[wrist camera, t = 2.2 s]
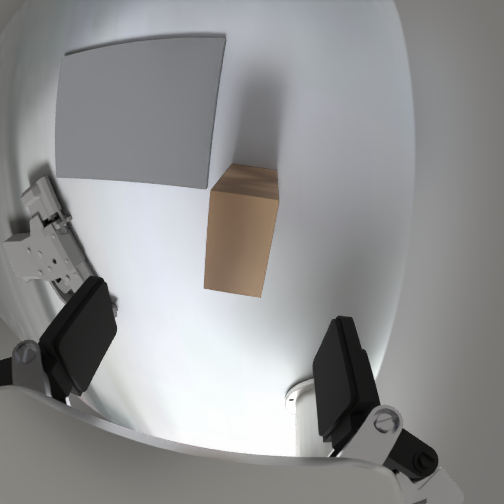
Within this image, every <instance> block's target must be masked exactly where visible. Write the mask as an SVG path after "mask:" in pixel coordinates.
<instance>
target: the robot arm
mask: <svg viewBox="0 0 504 504" xmlns="http://www.w3.org/2000/svg"><path fill="white" fill-rule="evenodd" d="M116 332H117V325H116V321H115V317H114V313H113V309H112V305H111V300H110V296H109V291H108V286H107V283H106V282H104V279H103V278H101V277H96V276H92V275H91V276H89V277H88V278H87V279H86V280H85V282H84V283H83V284H82V285H81V286H80V288H79V289H78V290H77V291H76V292H75V294H74V295H73V296H72V297H71V298H70V300H69V301H68V302H67V303H66V305H65V306H64V307H63V308H62V310H61V311H60V312H59V313H58V315H57V316H56V317H55V319H54V320H53V321H52V323H51V324H50V325H49V327H48V328H47V329H46V331H45V332H44V333H43V335H42V336H41V337H40V339H39V340H40V341H39V343H38V344H37V342H35V341H33V340H24V341H21V342H20V343H18V344H17V345H16V346H15V347H14V349H13V351H12V357H10V358H6V359H3V360H0V504H463V501H464V495H463V493H462V491H461V490H460V488H459V487H458V486H457V485H456V484H455V482H454V481H453V480H452V479H451V477H450V476H449V475H448V473H447V472H446V471H445V470H444V469H443V467H441V468H439V467H438V456H437V454H436V452H435V450H434V449H433V448H431V447H429V446H428V445H427V444H425V443H424V442H422V441H421V440H419V439H418V438H416V437H415V436H413V435H412V434H411V433H409V432H408V431H406V430H405V429H403V419H402V416H401V414H400V413H399V411H398V410H396V409H395V408H394V407H391V406H389V405H380V401H379V396H378V392H377V389H376V384H375V381H374V377H373V373H372V370H371V366H370V362H369V359H368V356H367V353H366V351H365V350H364V349H362V348H361V345H360V341H359V338H358V334H357V331H356V328H355V325H354V321H353V319H352V317H345V316H338V317H337V318H336V319H332V321H331V323H330V325H329V328H328V330H327V332H326V335H325V337H324V339H323V341H322V344H321V346H320V348H319V350H318V352H317V354H316V356H315V359H314V361H313V376H314V378H312V379H308V380H306V381H303V382H301V383H299V384H297V385H296V386H294V387H293V388H292V389H291V390H290V391H289V392H288V393H287V395H286V398H285V404H286V408H287V409H288V410H289V411H290V412H291V413H293V414H295V420H296V457H287V456H268V455H255V454H244V453H236V452H228V451H221V450H214V449H208V448H203V447H197V446H192V445H187V444H183V443H178V442H174V441H170V440H165V439H162V438H158V437H154V436H150V435H147V434H143V433H140V432H137V431H134V430H130V429H127V428H124V427H121V426H118V425H116V424H113V423H110V422H107V421H105V420H102V419H99V418H97V417H94V416H92V415H89V414H87V413H85V412H82V411H80V410H78V409H75V408H73V407H71V406H70V402H69V398H68V396H69V394H70V392H71V393H73V394H75V395H77V396H81V394H82V392H85V391H86V390H87V388H88V386H89V384H90V382H91V380H92V378H93V376H94V374H95V372H96V370H97V369H98V367H99V365H100V363H101V361H102V359H103V357H104V355H105V353H106V351H107V350H108V348H109V346H110V344H111V342H112V340H113V339H114V337H115V335H116Z"/></svg>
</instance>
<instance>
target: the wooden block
mask: <svg viewBox="0 0 504 504" xmlns="http://www.w3.org/2000/svg"><path fill="white" fill-rule="evenodd" d="M278 205H279V190H278V177H277V170H272V169H265V168H259V167H252V166H245V165H238V164H231V166H230V167H229V168H228V169H227V170H226V172H225V173H224V174H223V175H222V177H221V178H220V179H219V180H218V182H217V183H216V184H215V185H214V187H213V188H212V189H211V191H210V202H209V214H208V227H207V241H206V257H205V275H204V289H210V290H215V291H222V292H228V293H234V294H240V295H247V296H253V297H260V298H261V294H262V289H263V284H264V279H265V274H266V269H267V264H268V259H269V253H270V248H271V243H272V238H273V232H274V227H275V222H276V216H277V211H278Z"/></svg>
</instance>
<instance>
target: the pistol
mask: <svg viewBox="0 0 504 504" xmlns="http://www.w3.org/2000/svg"><path fill="white" fill-rule="evenodd" d="M21 201H22V203H23V206H26V207H28V208H29V210H30V212H31V214H32V217H33V219H31V220H30V233H16V234H14V235H13V236H11V237H10V238H9V239H7V240H6V241H4V243H3V246H4V248H5V251H6V254H7V256H8V259H9V261H10V264H11V266H12V269H13V271H14V273H15V276H16V278H17V279H19V280H21V281H25V282H29V281H31V280H32V279H43V280H46V281H49V282H50V284H51V286H52V287H53V289H54V290H55V292H56V293H57V295H58V296H59V298H60V299H61V300H62V301H63V302H64V303H65V304H66V303H67V302H68V301H69V300H70V298H71V297H72V295H71V293H70V292H69V290H70V289H72V290H73V292H74V293H75V292H76V291H77V290H78V289H79V288H80V286H81V285H82V284H83V283H84V282H85V280H86V279H87V278H88V277H89V276H91V275H92V276H94V274H93V272H92V270H91V269H90V267H89V265H88V264H87V262H86V260H85V256H84V255H83V253H82V251H81V249H80V247H79V245H78V243H77V242H76V240H75V238H74V236H73V234H72V232H71V230H70V228H69V226H68V224H67V222H69V221H70V220H72V217H71V216H69V217H67V215H64V216H63V215H62V213H61V211H60V209H62V208H61V206H60V204H59V202H58V200H57V197H56V195H55V193H54V190H53V188H52V185H51V183H50V181H49V178H48V176H47V175H45V176H43V177H42V178H40V179H39V180H38V181H37V182H35V183H34V184H33V185H31V186H30V187H29V188H28V189H27V190H26V191H25V192H24V193H23V194H22V196H21ZM56 212H58V214H59V216H60V218H59V219H57V220H55V219H54V217H56V216H57V214H56ZM53 221H54V222H53ZM50 223H51V224H50ZM111 305H112V309H113V313H114V317H116V316H117V312H116V311H118V310H117V308H116V306H115V305H114V304H111Z"/></svg>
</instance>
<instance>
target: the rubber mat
mask: <svg viewBox="0 0 504 504" xmlns="http://www.w3.org/2000/svg"><path fill="white" fill-rule="evenodd" d="M225 44H226V38H214V37H190V38H167V39H155V40H145V41H137V42H129V43H123V44H117V45H111V46H106V47H101V48H96V49H91V50H87V51H83V52H79V53H75V54H71V55H68V56H64V57H62V59H61V66H60V73H59V81H58V90H57V102H56V121H55V158H56V177H57V178H80V179H99V180H115V181H128V182H140V183H152V184H162V185H172V186H181V187H190V188H199V189H207V186H208V175H209V165H210V155H211V145H212V136H213V128H214V119H215V112H216V104H217V96H218V89H219V82H220V75H221V69H222V62H223V56H224V50H225Z"/></svg>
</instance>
